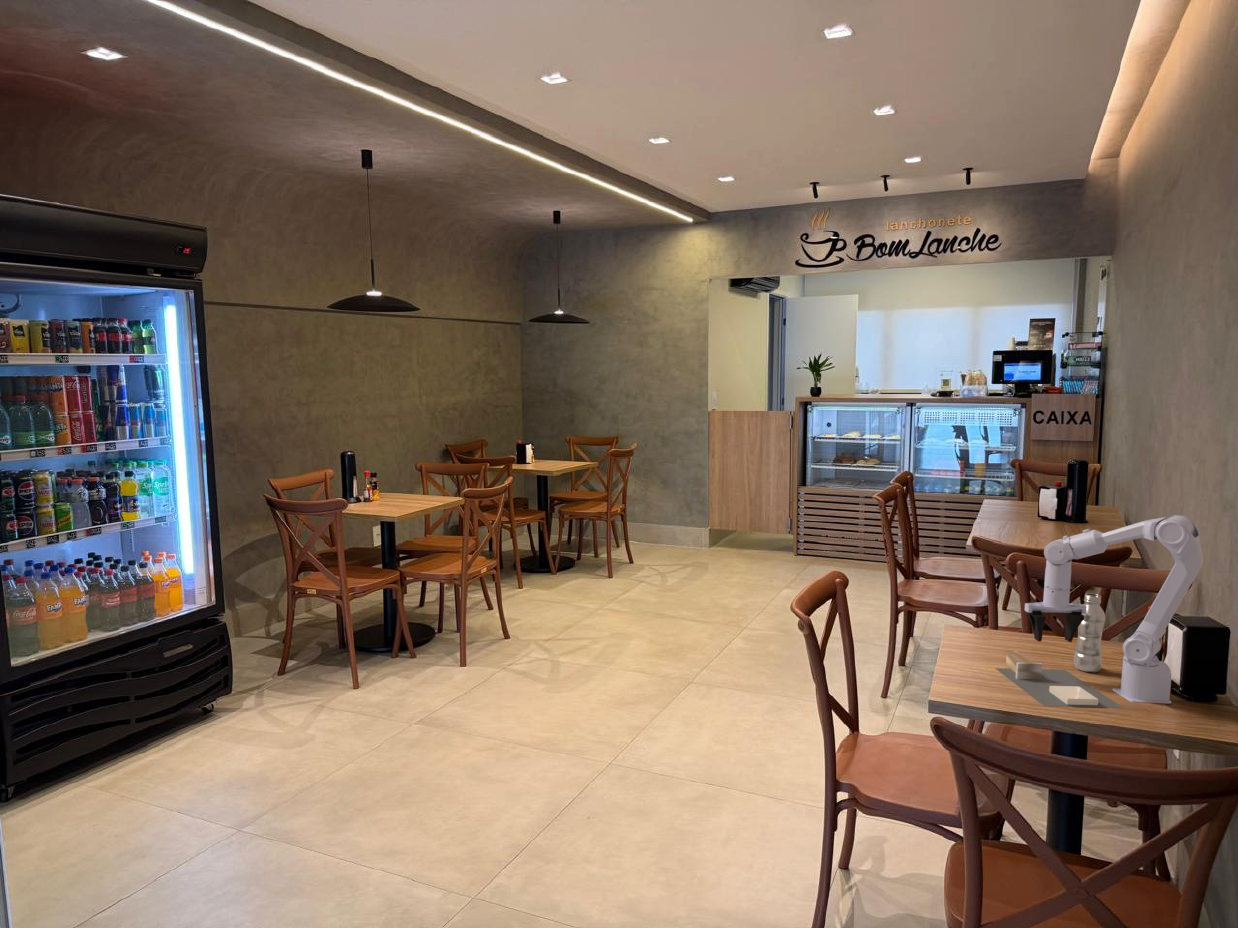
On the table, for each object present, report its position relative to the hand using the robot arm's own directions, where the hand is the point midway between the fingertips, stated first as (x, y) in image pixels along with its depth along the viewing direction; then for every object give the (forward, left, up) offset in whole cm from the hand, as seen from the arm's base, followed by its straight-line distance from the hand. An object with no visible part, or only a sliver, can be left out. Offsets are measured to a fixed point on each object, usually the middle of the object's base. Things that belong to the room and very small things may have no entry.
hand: (1053, 640), depth 208 cm
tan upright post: (+7, -1, -9) cm, 11 cm away
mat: (+3, +8, -9) cm, 13 cm away
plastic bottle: (-12, -5, -10) cm, 16 cm away
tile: (+3, +12, -8) cm, 15 cm away
